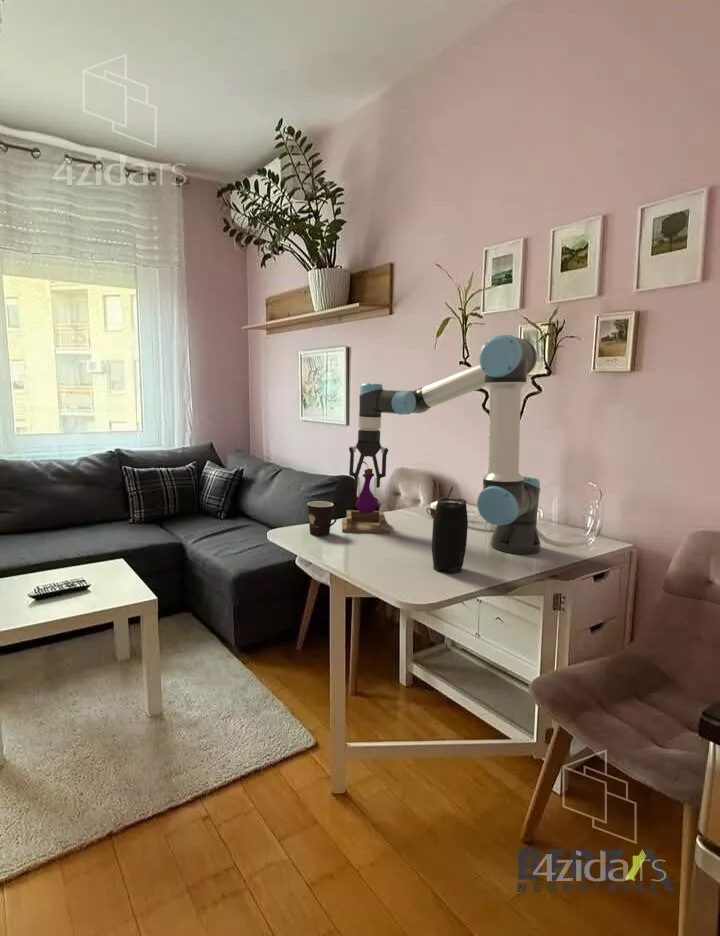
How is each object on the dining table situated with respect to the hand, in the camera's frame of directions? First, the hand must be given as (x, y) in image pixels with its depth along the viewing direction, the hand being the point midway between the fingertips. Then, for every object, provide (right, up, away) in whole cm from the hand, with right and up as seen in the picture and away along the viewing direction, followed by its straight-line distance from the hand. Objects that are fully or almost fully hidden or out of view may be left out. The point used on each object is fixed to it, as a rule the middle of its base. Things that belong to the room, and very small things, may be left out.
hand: (366, 496), depth 195 cm
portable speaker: (+22, -18, -39) cm, 48 cm away
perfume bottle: (+1, -6, +1) cm, 6 cm away
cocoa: (+28, -9, +22) cm, 36 cm away
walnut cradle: (0, -11, +2) cm, 11 cm away
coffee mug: (-15, -12, -10) cm, 22 cm away
